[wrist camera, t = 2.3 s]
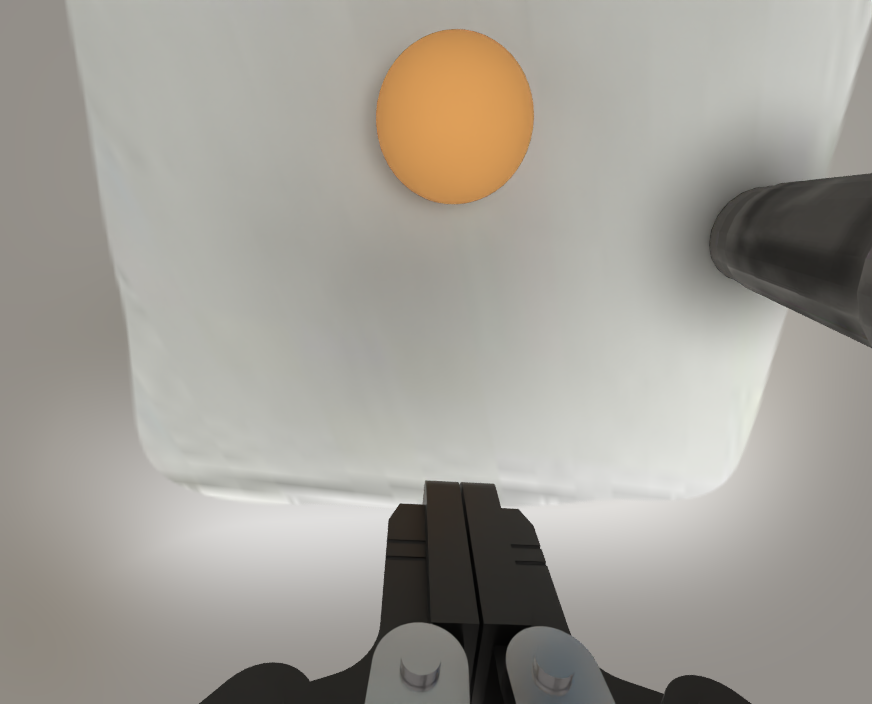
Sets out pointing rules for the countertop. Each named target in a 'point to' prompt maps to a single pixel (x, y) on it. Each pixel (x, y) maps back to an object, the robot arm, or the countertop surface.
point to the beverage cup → (804, 249)
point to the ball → (454, 116)
